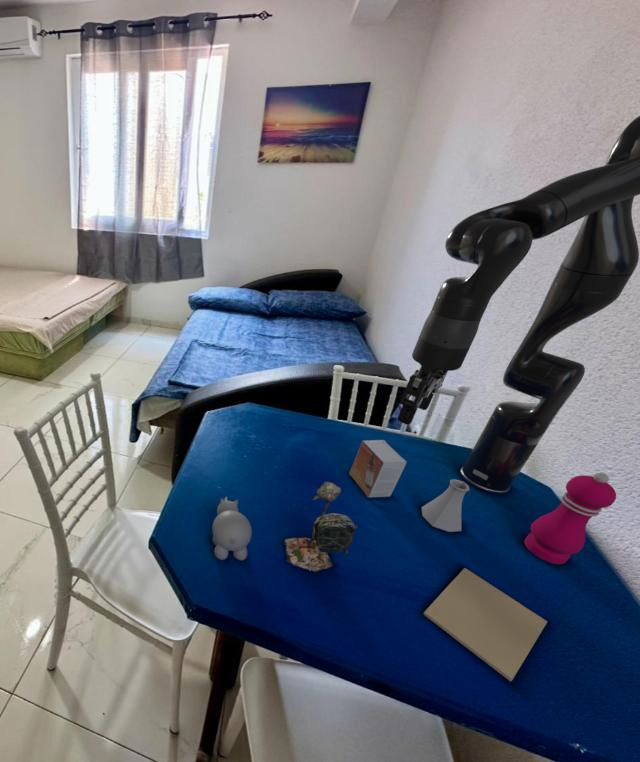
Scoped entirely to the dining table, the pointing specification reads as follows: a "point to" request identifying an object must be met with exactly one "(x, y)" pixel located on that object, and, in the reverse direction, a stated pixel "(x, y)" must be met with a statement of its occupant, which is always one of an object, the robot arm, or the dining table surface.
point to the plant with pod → (322, 536)
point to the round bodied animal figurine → (230, 531)
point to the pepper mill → (570, 518)
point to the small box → (377, 468)
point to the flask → (447, 507)
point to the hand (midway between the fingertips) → (412, 414)
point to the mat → (487, 622)
